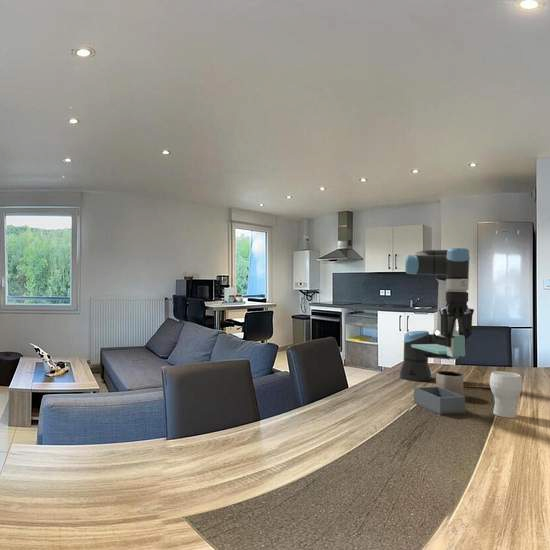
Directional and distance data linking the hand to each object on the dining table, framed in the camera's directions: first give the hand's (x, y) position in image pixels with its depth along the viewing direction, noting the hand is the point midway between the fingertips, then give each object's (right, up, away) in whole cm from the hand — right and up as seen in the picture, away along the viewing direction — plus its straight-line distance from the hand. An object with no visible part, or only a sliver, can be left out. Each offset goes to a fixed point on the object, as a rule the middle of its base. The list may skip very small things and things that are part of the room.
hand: (455, 355), depth 159 cm
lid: (-2, 0, +8) cm, 8 cm away
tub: (-2, -22, +10) cm, 24 cm away
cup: (+20, -23, +3) cm, 30 cm away
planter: (+9, -22, +28) cm, 37 cm away
